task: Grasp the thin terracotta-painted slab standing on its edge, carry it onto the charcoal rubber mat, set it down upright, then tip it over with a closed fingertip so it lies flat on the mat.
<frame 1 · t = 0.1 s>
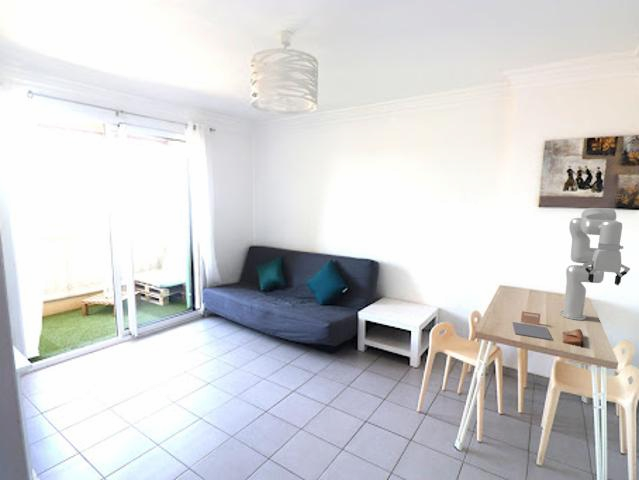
hand: (603, 283, 158), 31 cm above the table, fingers open, 9 cm apart
slab: (529, 322, 191), on the table
mat: (531, 331, 179), on the table
sunglasses case: (572, 340, 169), on the table
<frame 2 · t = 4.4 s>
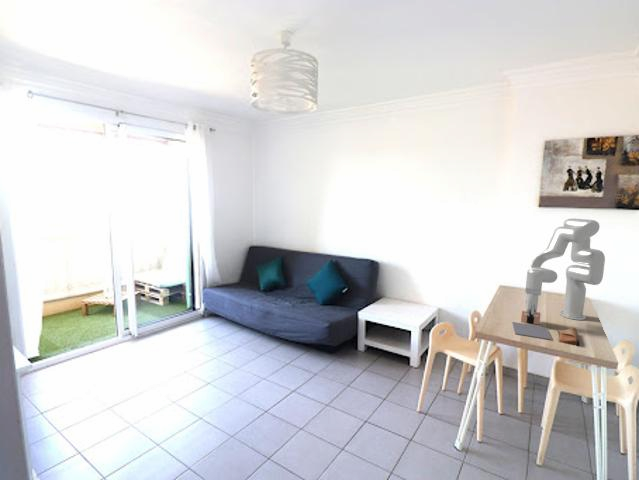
hand: (529, 322, 191), 0 cm above the table, fingers closed on slab, 1 cm apart
slab: (529, 322, 191), on the table, touching gripper
sunglasses case: (567, 339, 171), on the table
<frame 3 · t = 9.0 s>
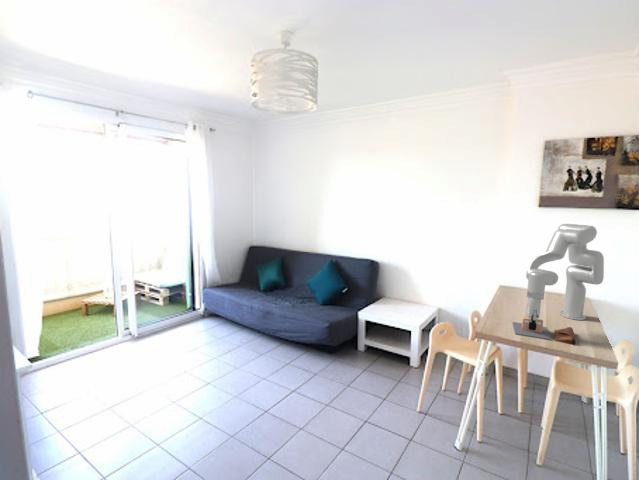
hand: (531, 328, 177), 2 cm above the table, fingers closed
slab: (531, 330, 178), point 1 cm above the table, touching mat
sunglasses case: (563, 338, 172), on the table
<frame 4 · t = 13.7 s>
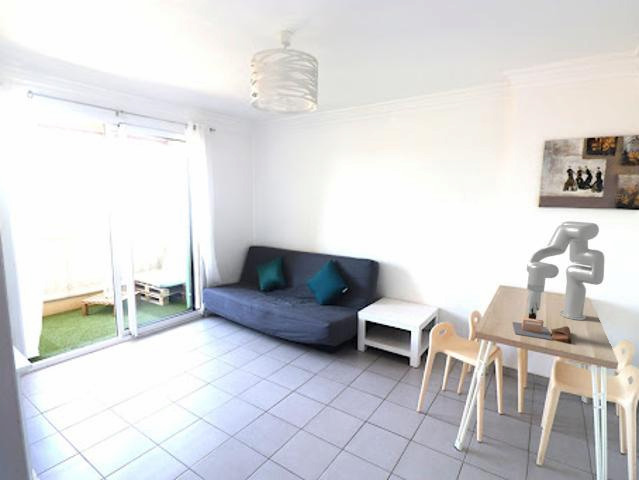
hand: (531, 321, 178), 6 cm above the table, fingers closed
slab: (531, 330, 177), point 1 cm above the table, tilted 14°, touching mat
sunglasses case: (560, 337, 173), on the table
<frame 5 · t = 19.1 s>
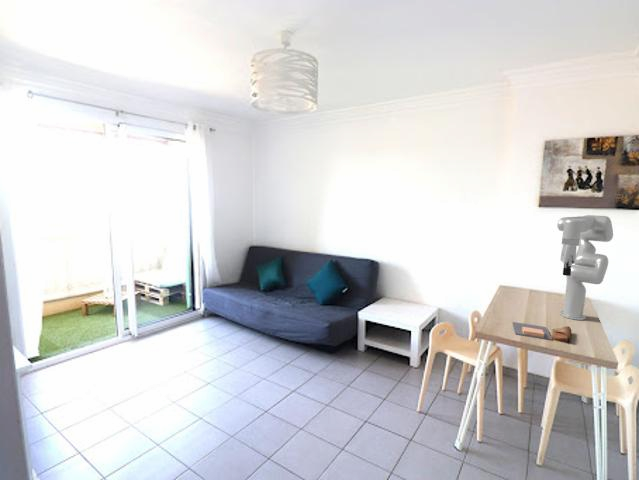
hand: (566, 275, 183), 29 cm above the table, fingers closed
slab: (531, 329, 177), point 1 cm above the table, tilted 90°, touching mat
at the end: slab tilted 90°; slab inside the target area on the mat (2.0 cm from its centre), point 1.5 cm above the mat's base; the gripper is holding nothing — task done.
